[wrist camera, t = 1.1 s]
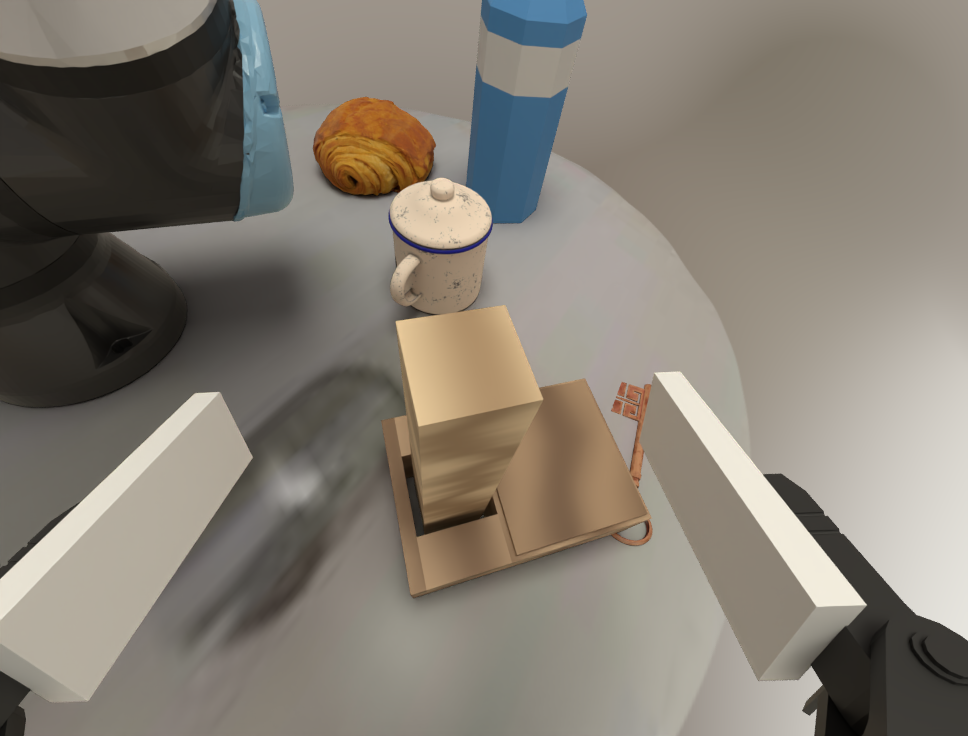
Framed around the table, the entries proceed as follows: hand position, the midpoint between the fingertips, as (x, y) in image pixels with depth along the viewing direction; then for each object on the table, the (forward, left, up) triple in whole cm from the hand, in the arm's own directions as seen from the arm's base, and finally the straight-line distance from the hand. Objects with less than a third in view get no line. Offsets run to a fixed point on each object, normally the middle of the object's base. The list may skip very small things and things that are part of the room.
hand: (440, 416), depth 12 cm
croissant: (-46, +3, -20) cm, 50 cm away
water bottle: (-37, +17, -20) cm, 45 cm away
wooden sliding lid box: (-2, +6, -19) cm, 20 cm away
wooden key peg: (-2, +1, -19) cm, 20 cm away
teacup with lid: (-23, +5, -20) cm, 30 cm away
